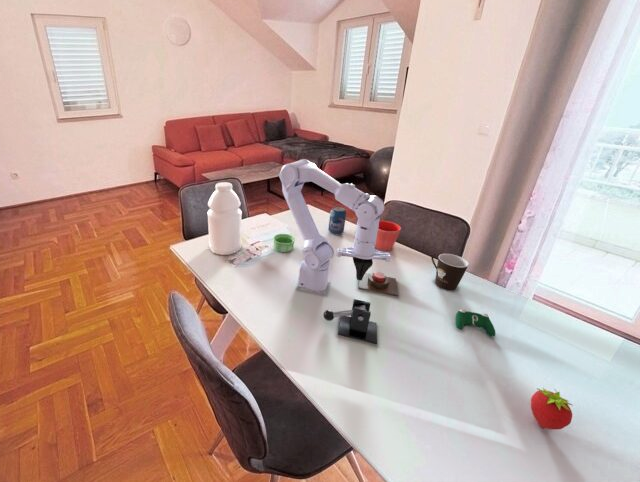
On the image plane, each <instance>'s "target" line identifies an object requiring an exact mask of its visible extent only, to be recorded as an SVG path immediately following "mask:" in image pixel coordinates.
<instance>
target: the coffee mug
mask: <svg viewBox="0 0 640 482" xmlns="http://www.w3.org/2000/svg"><path fill="white" fill-rule="evenodd" d="M436 256H437V264H436V262H435V259H434V257H436ZM431 262H432V265H433V266H434V268H435V269H436V272H435V278H434V284H435V285H436V286H437V287H438V288H440V289H442V290H445V291H450V292H453V291H457V288H458V286H459V285H460V282H461V281H462V279H463V277H464V275H465V273H466V272H467V269H468V267H469V265H470V263H469V261H468V260H467V259H466V258H464V257H462V256H459V255H456V254H452V253H441V254H438V253H432V254H431Z"/></svg>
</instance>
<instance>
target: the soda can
mask: <svg viewBox="0 0 640 482" xmlns="http://www.w3.org/2000/svg"><path fill="white" fill-rule="evenodd" d="M346 218H347V211H346V208H345V207H344V206H340V205H335V206H333V207H332V208H331V210H330V212H329V219H328V232H329V233H330V234H331V235H334V236H340V235H342V234H343V233H344V231H345V225H346Z"/></svg>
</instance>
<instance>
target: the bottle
mask: <svg viewBox="0 0 640 482" xmlns="http://www.w3.org/2000/svg"><path fill="white" fill-rule="evenodd" d="M214 186H215V187H214V189H215V190H214V192H212V194H211V196H210V197H209V199H208V202H207V207H208V208H209V209H208V211H207V213H206V214H207V226H208V227H207V231H208V247H209V250H210V251H211V252H212V253H214V254H217V255H222V256H227V255H228V256H229V255H233V254H235V253H238V252H240V250H241V248H242V245H243V243H242V217H243V216H242V215H243V211H242V210H241V208H240V207H241V205H242V202H241V199H240V198H239V195H237V193H236V192H235V191H234V190H233V187H234V186H233V184H232V183H231V182H229V181H226V182H225V181H223V182H222V181H221V182H217V183H215V185H214ZM234 251H235V252H234ZM231 252H232V253H231Z"/></svg>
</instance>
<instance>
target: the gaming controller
mask: <svg viewBox="0 0 640 482" xmlns="http://www.w3.org/2000/svg"><path fill="white" fill-rule="evenodd" d="M465 325H466V326H473V327H477V328H482V330H483V331H484V332H485V333H486V334H487V335H488V336H489V337H496V329H495V327H494V325H493V323H492V321H491V319H490V317H489V314H488V313H477V312H473V311H467V310H466V309H458V310H457V312H456V314H455V326H456V329H458V330H460V331H461V330H463V329H464V326H465Z"/></svg>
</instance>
